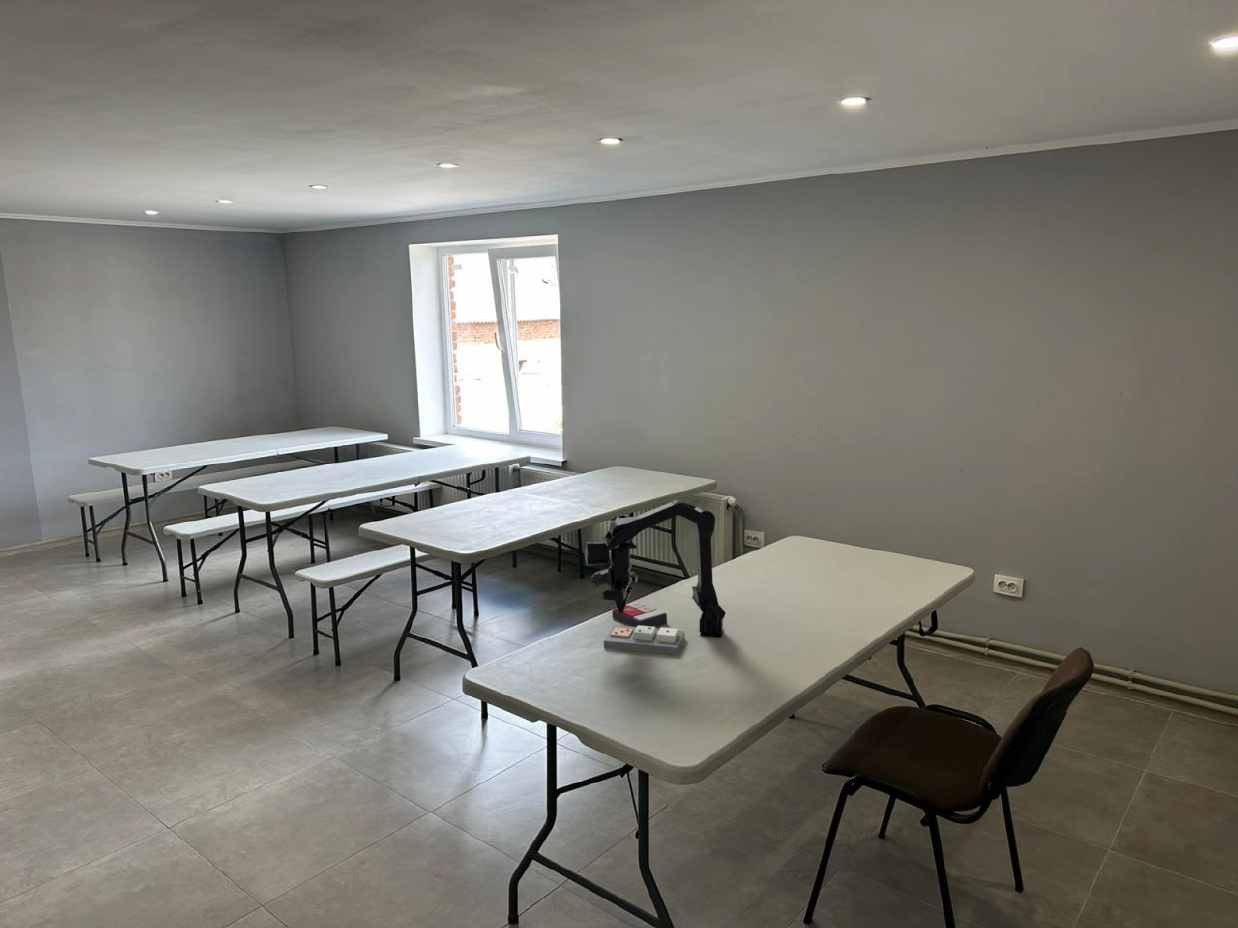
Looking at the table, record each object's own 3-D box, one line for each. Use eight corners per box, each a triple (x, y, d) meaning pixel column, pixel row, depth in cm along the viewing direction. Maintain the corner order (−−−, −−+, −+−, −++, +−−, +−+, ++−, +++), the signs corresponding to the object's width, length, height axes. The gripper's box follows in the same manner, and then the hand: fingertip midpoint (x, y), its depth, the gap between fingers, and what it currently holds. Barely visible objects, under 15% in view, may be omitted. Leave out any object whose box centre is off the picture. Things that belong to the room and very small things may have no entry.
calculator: (638, 600, 266) (667, 611, 254) (638, 612, 267) (667, 624, 255) (611, 607, 260) (639, 619, 248) (612, 620, 261) (640, 632, 249)
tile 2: (655, 634, 241) (655, 626, 241) (651, 641, 236) (651, 633, 236) (638, 633, 243) (637, 624, 242) (633, 640, 238) (633, 631, 237)
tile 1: (678, 636, 240) (678, 628, 239) (674, 643, 235) (674, 635, 234) (660, 635, 241) (660, 626, 240) (656, 642, 236) (656, 633, 235)
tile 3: (632, 636, 243) (632, 628, 243) (628, 643, 238) (628, 635, 238) (615, 635, 245) (615, 626, 244) (611, 642, 240) (610, 633, 239)
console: (684, 638, 243) (684, 631, 242) (677, 655, 231) (677, 647, 231) (614, 632, 248) (614, 625, 248) (603, 647, 237) (603, 640, 237)
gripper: (602, 551, 248) (603, 599, 251) (585, 570, 230) (586, 621, 233) (637, 554, 245) (638, 602, 248) (622, 573, 227) (623, 625, 230)
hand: (620, 612), depth 240 cm, fingers closed
